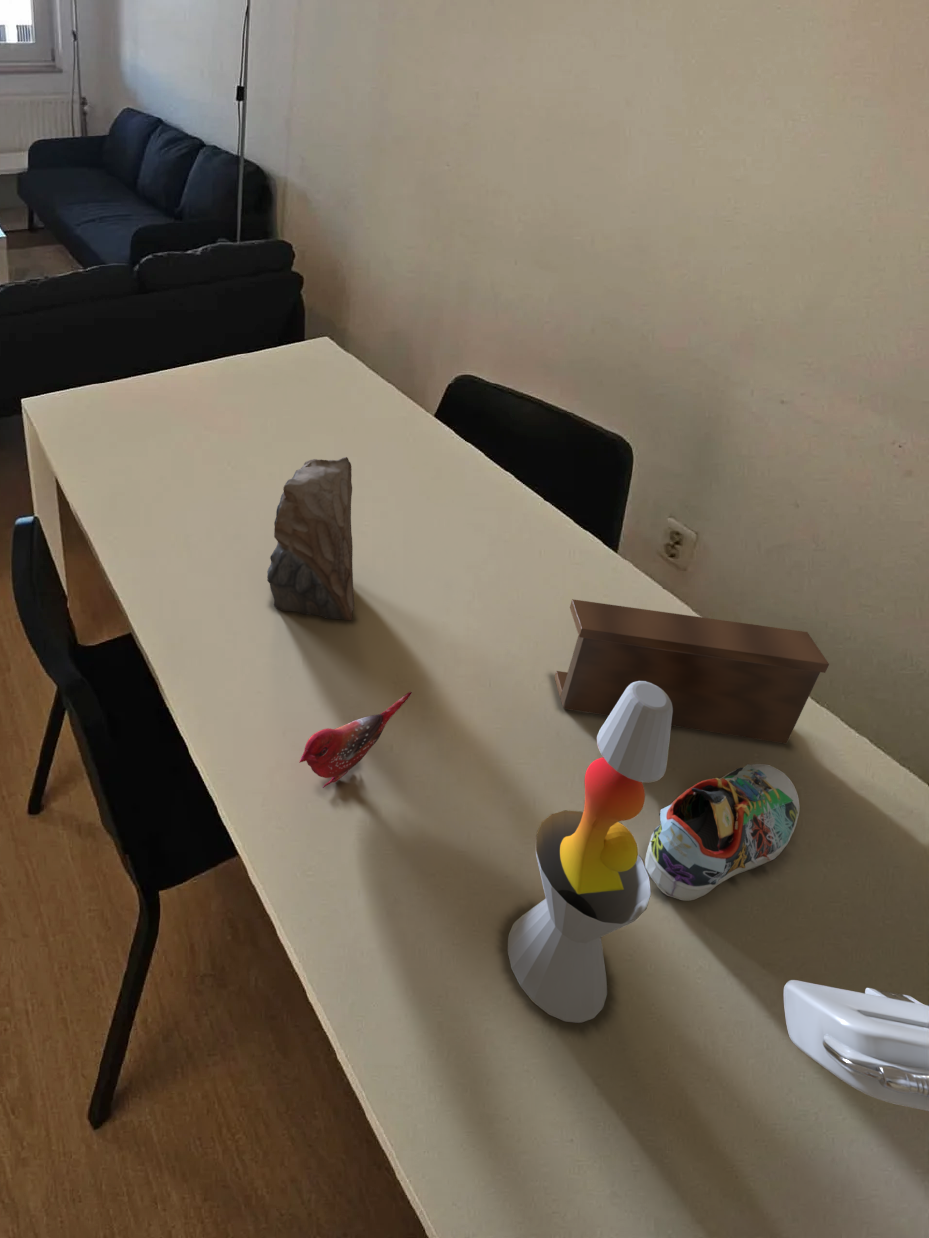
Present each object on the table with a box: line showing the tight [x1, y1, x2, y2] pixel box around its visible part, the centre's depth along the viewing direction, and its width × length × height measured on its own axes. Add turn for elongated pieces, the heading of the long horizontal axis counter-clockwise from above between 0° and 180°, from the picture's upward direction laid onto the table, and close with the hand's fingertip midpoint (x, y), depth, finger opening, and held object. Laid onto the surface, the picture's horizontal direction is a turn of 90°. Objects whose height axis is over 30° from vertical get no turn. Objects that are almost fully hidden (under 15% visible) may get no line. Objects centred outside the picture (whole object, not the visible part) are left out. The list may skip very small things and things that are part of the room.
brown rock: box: [266, 456, 355, 621], centre depth 110 cm, size 13×13×20 cm
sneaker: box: [644, 763, 800, 901], centre depth 79 cm, size 8×21×10 cm, turn 118°
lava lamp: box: [507, 681, 673, 1024], centre depth 63 cm, size 9×9×35 cm
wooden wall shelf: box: [554, 598, 830, 745], centre depth 93 cm, size 27×5×13 cm, turn 81°
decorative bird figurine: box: [299, 691, 413, 789], centre depth 86 cm, size 3×18×10 cm, turn 126°
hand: (886, 1003), depth 57 cm, fingers closed
